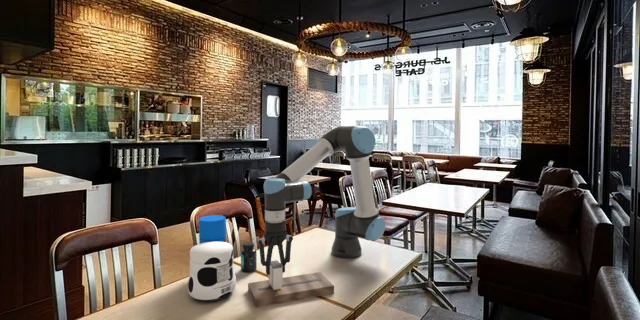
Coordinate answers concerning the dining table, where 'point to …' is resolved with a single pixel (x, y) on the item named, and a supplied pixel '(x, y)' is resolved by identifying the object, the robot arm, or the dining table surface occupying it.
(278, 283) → the fader
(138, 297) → the dining table surface
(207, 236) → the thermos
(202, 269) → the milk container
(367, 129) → the robot arm
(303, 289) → the wooden slotted board
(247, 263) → the supplement bottle
